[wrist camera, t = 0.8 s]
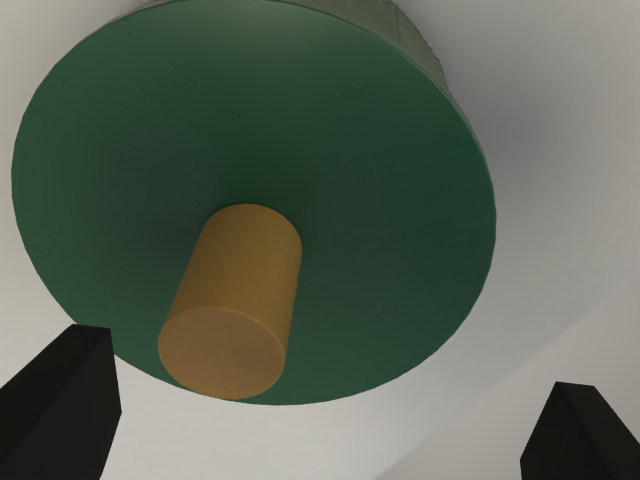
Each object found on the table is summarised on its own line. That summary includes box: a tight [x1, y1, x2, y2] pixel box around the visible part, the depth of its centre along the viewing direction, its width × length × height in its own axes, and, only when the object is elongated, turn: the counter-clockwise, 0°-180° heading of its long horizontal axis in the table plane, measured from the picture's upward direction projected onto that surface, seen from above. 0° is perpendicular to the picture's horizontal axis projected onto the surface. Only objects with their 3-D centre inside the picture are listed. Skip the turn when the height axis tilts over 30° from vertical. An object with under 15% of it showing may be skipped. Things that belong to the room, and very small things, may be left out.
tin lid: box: [11, 0, 496, 405], centre depth 13 cm, size 11×11×5 cm
